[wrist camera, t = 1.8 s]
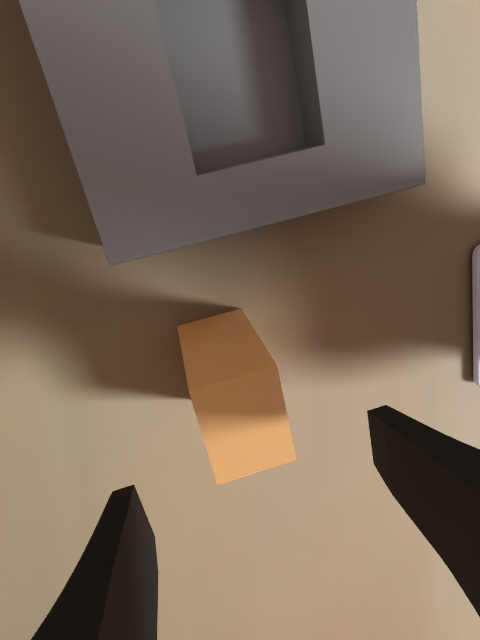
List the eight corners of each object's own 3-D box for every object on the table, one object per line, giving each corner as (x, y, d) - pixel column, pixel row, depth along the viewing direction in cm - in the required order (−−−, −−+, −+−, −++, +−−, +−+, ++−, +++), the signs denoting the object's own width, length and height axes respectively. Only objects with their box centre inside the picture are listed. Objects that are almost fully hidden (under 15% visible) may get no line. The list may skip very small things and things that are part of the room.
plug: (240, 308, 20) (276, 365, 14) (257, 382, 21) (296, 459, 16) (177, 326, 20) (188, 391, 14) (198, 399, 21) (217, 485, 16)
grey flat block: (347, -272, 14) (402, -389, 11) (385, 180, 19) (428, 184, 16) (-41, -219, 13) (-98, -334, 10) (115, 249, 18) (109, 267, 15)
